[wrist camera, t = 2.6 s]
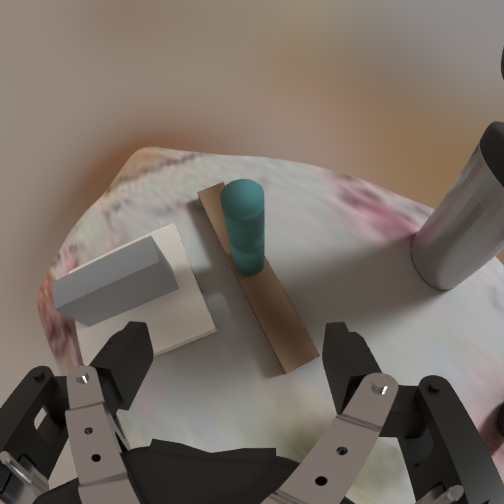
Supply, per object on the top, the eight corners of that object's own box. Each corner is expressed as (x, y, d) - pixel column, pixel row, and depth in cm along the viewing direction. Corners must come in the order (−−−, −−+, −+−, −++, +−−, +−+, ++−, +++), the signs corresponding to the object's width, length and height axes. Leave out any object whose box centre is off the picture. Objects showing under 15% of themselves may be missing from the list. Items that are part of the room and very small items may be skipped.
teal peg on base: (224, 192, 37) (210, 112, 25) (315, 357, 26) (356, 332, 15) (200, 201, 36) (177, 123, 25) (284, 374, 25) (302, 363, 14)
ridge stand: (177, 229, 34) (157, 187, 27) (217, 331, 28) (201, 309, 20) (74, 276, 31) (39, 247, 24) (94, 378, 25) (50, 368, 18)
